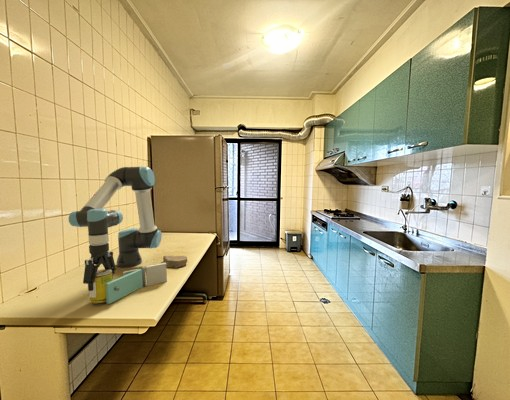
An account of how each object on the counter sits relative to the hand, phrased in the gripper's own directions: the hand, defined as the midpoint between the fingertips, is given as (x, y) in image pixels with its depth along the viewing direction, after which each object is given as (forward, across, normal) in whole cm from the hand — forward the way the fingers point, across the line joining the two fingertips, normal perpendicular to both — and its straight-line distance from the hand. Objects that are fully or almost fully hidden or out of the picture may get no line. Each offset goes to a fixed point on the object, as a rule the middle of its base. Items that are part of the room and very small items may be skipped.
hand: (101, 292), depth 111 cm
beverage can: (+3, 0, 0) cm, 3 cm away
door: (+4, -7, +8) cm, 11 cm away
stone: (+5, -53, +9) cm, 54 cm away
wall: (+4, -19, +10) cm, 22 cm away
